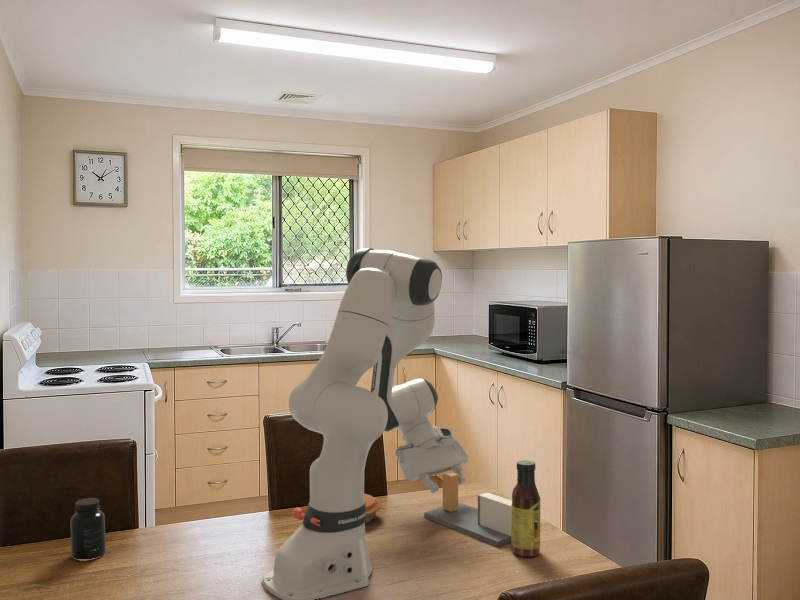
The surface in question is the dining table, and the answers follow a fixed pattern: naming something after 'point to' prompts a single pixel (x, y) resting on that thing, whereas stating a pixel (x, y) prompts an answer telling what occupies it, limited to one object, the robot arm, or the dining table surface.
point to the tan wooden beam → (450, 491)
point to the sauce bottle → (525, 512)
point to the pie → (371, 506)
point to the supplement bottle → (87, 530)
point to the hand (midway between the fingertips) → (449, 487)
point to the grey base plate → (479, 519)
